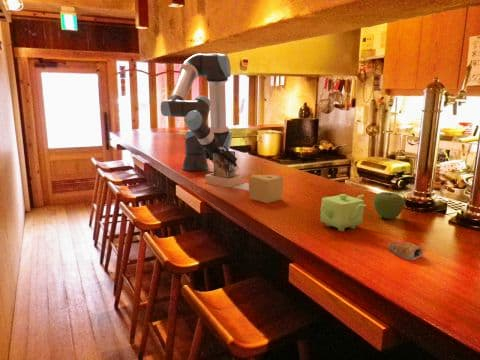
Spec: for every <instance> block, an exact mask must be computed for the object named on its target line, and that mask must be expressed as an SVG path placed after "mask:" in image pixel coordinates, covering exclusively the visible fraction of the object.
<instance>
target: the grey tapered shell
mask: <svg viewBox="0 0 480 360" xmlns="http://www.w3.org/2000/svg"><path fill="white" fill-rule="evenodd" d="M387 248H388V250H389V252H392V253H393V254H394V255H395V256H398V257H399V258H402V259H404V260H408V261H410V262H411V261H416V260H417V259H420V258H422V257H423V255H424V250H423V248H422V246H421V245H419V246H418V245H416V244H414V243H412V242H406V241H390V242H388V243H387Z"/></svg>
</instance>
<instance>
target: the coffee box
mask: <svg viewBox="0 0 480 360" xmlns="http://www.w3.org/2000/svg"><path fill="white" fill-rule="evenodd" d="M229 151H230V152H231V153H232V154H233V155H234V156H235V157H236V151H234V150H229ZM220 153H221V151H220ZM213 158H214V163H213V173H214V176H216V177H222V178H227V179H230V178H234V177H235V174H236V172H235V171H234V169H233V168H232V166H231V165H230V162H228V161H227V160H226V159H224V158H223V157H222V156H219V155H217V154H214V157H213Z"/></svg>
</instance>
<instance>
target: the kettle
mask: <svg viewBox="0 0 480 360" xmlns="http://www.w3.org/2000/svg"><path fill="white" fill-rule="evenodd" d="M364 196H365V195H364V194H359V195H357V197H354V196H351V195H348V194H347V193H346V194H345V193H341V194H338V195H333V196H332V195H331V196H326V197H325V196H324V197H322V198H321V206H320V207H321V208H319V209H320V210H319V211H320V223H321V222H322V223H325V226H326V227H333V228H337V231H338V232H345V231H346V230H345V229H346V228H350V229H356V228H357V227H356V226H359V225H362V224H363V220H364V210H365V207H366V206H367V205H366V204H365V200H363V199H362V198H363V197H364Z"/></svg>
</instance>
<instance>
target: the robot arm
mask: <svg viewBox="0 0 480 360" xmlns="http://www.w3.org/2000/svg"><path fill="white" fill-rule="evenodd" d="M231 69H232V67H231V63H230V59H229V57H228V55H227V54H226V53H195V54H193V55H191V56H190V57H188V58H187V59H186V60H184V61H183V63H182V64H181V66H180V68H179V75H178V78H177V80H176V83H175V85H174V88H173V90H172V92H171V94H170V97H169V98H168V99H163V100H162V101H161V103H160V113H161V115H162V116H163V117H170V118H184V123H185V125H186V126H187V128H188V130H186V131H185V136H184V139H185V142H184V143H185V144H184V145H185V146H184V147H185V148H184V149H185V155H184V159H183V163H182V166H181V167H182V170H184V171H188V172H202V171H207V170H208V169H209V163H208V160H209V161H210V162H212V163H213V164H214V154H217V155H219V156H222V157H223V158H224V159H226V160H227V161H228V162H230V165H231V166H232V168H233V169H234V171H235V173H237V172H238V170H239V169H240V168H239V165H238V163H237V161H238V158H237V157H236V155H235V156H234V155H233V154H232V153H231V152H230V151H231V150H230V148H231V144H232V138H233V133H232V132H231V131H230V129H229V128H230V127H228V126H227V114H226V113H227V108H226V105H227V104H226V83H227V82H228V81H229V78H230V77H231V74H232V71H231ZM199 77H203V78H205V81H206V82H207V83H208V86H209V87H208V88H209V89H208V91H209V93H208V94H209V98H208V97H207V96H205V95H198V96H197V97H195V99H194V100H188V96H189V94H190V91H191V88H192V87H193V84H194V82H195V80H196V79H197V78H199ZM208 117H210V126H209V125H208V123H207V122H208ZM220 151H221V153H220Z"/></svg>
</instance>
